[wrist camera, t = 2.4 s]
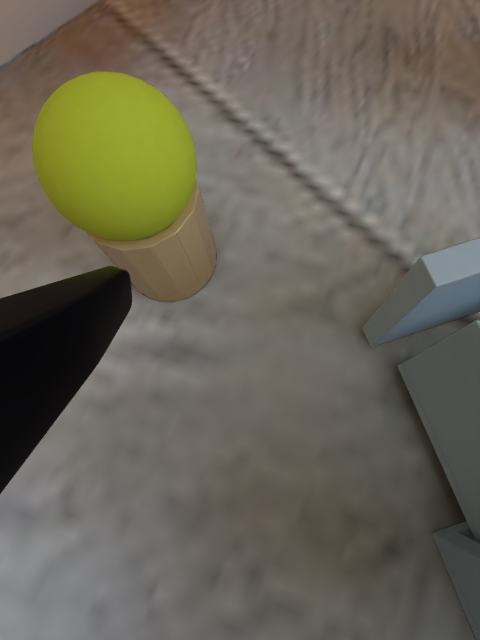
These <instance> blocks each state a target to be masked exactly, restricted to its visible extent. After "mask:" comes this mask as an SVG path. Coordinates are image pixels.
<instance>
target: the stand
mask: <svg viewBox="0 0 480 640" xmlns="http://www.w3.org/2000/svg"><path fill="white" fill-rule="evenodd" d="M88 235H89V236H90V237H91V238H92V239H93V240H94V241H95V242H96V244H97V245H98V246H99V247H100V248H101V249H102V250H103V252H104V253H105V254H106V255H107V256H108V257H109V258H110V259H111V261H112V262H113V263H114V264H115V265H116V266H117V267H118V268H121V269H125V270H127V271H128V272H129V274H130V278H131V283H132V284H133V285H134V286H135V287H136V288H137V289H138V291H139V292H141V293H142V294H143V295H145V296H147V297H149V298H151V299H154V300H158V301H164V302H172V301H178V300H182V299H185V298H188V297H190V296H192V295H194V294H195V293H197V292H198V291H199V290H201V289H202V288H203V287H204V286H205V285H206V284H207V282H208V281H209V279H210V278H211V276H212V274H213V272H214V269H215V266H216V261H217V253H216V246H215V242H214V238H213V235H212V231H211V228H210V224H209V221H208V217H207V214H206V210H205V206H204V203H203V199H202V196H201V192H200V189H199V185H198V182H197V179H195V184H194V188H193V192H192V194H191V197H190V199H189V201H188V203H187V205H186V207H185V208H184V210H183V211H182V213H181V214H180V215H179V216H178V218H177V219H176V220H175V221H174V222H173V223H171V224H170V225H169V226H168V227H166V228H165V229H163V230H162V231H160V232H158V233H156V234H154V235H152V236H149V237H146V238H143V239H139V240H132V241H117V240H108V239H104V238H100V237H98V236H95V235H92V234H90V233H88Z"/></svg>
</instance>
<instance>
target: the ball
mask: <svg viewBox="0 0 480 640" xmlns="http://www.w3.org/2000/svg"><path fill="white" fill-rule="evenodd" d="M32 150H33V160H34V166H35V170H36V173H37V176H38V179H39V182H40V184H41V186H42V188H43V190H44V192H45V194H46V195H47V197H48V198H49V200H50V201H51V203H52V204H53V205H54V207H55V208H56V209H57V210H58V211H59V212H60V213H61V214H62V215H63V216H64V217H65V218H66V219H67V220H68V221H70V222H71V223H72V224H74V225H75V226H77V227H78V228H80V229H82V230H84V231H85V232H87V233H90V234H92V235H95V236H98V237H100V238H104V239H108V240H117V241H132V240H139V239H143V238H146V237H149V236H152V235H154V234H156V233H158V232H160V231H162V230H163V229H165V228H166V227H168V226H169V225H170V224H171V223H173V222H174V221H175V220H176V219H177V218H178V216H179V215H180V214H181V213H182V211H183V210H184V208H185V207H186V205H187V203H188V201H189V199H190V197H191V194H192V192H193V188H194V184H195V179H196V165H197V162H196V153H195V147H194V143H193V139H192V137H191V134H190V131H189V129H188V127H187V125H186V123H185V121H184V119H183V117H182V116H181V114H180V113H179V111H178V110H177V109H176V107H175V106H174V105H173V104H172V103H171V102H170V100H169V99H168V98H167V97H165V96H164V95H163V94H162V93H161V92H160V91H158V90H157V89H156V88H154V87H153V86H151V85H149V84H148V83H146V82H144V81H142V80H140V79H138V78H135V77H132V76H129V75H126V74H122V73H117V72H94V73H88V74H84V75H81V76H78V77H76V78H74V79H72V80H70V81H68V82H66V83H65V84H63V85H62V86H61V87H59V88H58V89H57V90H56V91H55V92H54V93H53V94H52V95H51V96H50V97H49V99H48V100H47V101H46V103H45V104H44V106H43V107H42V109H41V111H40V113H39V116H38V118H37V121H36V124H35V128H34V133H33V145H32Z"/></svg>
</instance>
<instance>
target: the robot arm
mask: <svg viewBox="0 0 480 640" xmlns="http://www.w3.org/2000/svg"><path fill="white" fill-rule="evenodd" d="M131 305H132V292H131V278H130V274H129V272H128V271H127V270H125V269H121V268H118V267H115V266H107V267H104V268H101V269H97V270H94V271H91V272H87V273H84V274H81V275H77V276H74V277H71V278H67V279H64V280H61V281H57V282H54V283H51V284H47V285H44V286H41V287H37V288H34V289H31V290H27V291H24V292H21V293H17V294H14V295H11V296H7V297H4V298H1V299H0V494H1V492H2V491H3V490H4V488H5V487H6V486H7V484H8V483H9V482H10V480H11V479H12V478H13V476H14V475H15V474H16V472H17V471H18V470H19V469H20V467H21V466H22V465H23V463H24V462H25V461H26V459H27V458H28V457H29V455H30V454H31V453H32V451H33V450H34V449H35V447H36V446H37V445H38V443H39V442H40V441H41V439H42V438H43V437H44V435H45V434H46V433H47V431H48V430H49V429H50V427H51V426H52V425H53V423H54V422H55V421H56V419H57V418H58V417H59V415H60V414H61V413H62V411H63V410H64V409H65V407H66V406H67V405H68V403H69V402H70V401H71V399H72V398H73V397H74V395H75V394H76V393H77V391H78V390H79V389H80V387H81V386H82V385H83V383H84V382H85V381H86V379H87V378H88V377H89V375H90V374H91V373H92V371H93V370H94V369H95V367H96V366H97V364H98V363H99V361H100V360H101V358H102V357H103V355H104V353H105V352H106V350H107V348H108V347H109V345H110V343H111V341H112V340H113V338H114V336H115V335H116V333H117V331H118V329H119V328H120V326H121V324H122V323H123V321H124V319H125V318H126V316H127V314H128V312H129V311H130V308H131Z"/></svg>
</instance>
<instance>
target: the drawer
mask: <svg viewBox="0 0 480 640" xmlns="http://www.w3.org/2000/svg"><path fill="white" fill-rule="evenodd" d="M477 312H480V237H479V238H476V239H473V240H470V241H467V242H464V243H461V244H458V245H455V246H451V247H448V248H445V249H442V250H439V251H436V252H433V253H430V254H427V255H424V256H421V257H420V258H419V259H418V261H417V262H416V263H415V264H414V265H413V267H412V268H411V269H410V270H409V272H408V273H407V274H406V275H405V276H404V278H403V279H402V280H401V281H400V283H399V284H398V285H397V286H396V287H395V289H394V290H393V291H392V292H391V293H390V295H389V296H388V297H387V298H386V300H385V301H384V302H383V303H382V304H381V306H380V307H379V308H378V309H377V311H376V312H375V313H374V314H373V315H372V317H371V318H370V319H369V320H368V322H367V323H366V324H365V325H364V326H363V331H364V333H365V335H366V338H367V340H368V342H369V345H370V347H373V346H376V345H379V344H383V343H386V342H389V341H392V340H395V339H398V338H401V337H404V336H407V335H410V334H413V333H416V332H419V331H422V330H425V329H428V328H431V327H434V326H437V325H440V324H444V323H447V322H450V321H453V320H456V319H459V318H462V317H465V316H468V315H471V314H474V313H477ZM398 369H399V371H400V373H401V376H402V378H403V380H404V382H405V384H406V387H407V389H408V391H409V393H410V396H411V398H412V400H413V402H414V405H415V407H416V409H417V411H418V414H419V416H420V418H421V420H422V422H423V425H424V427H425V429H426V431H427V434H428V436H429V438H430V440H431V443H432V445H433V447H434V449H435V451H436V454H437V456H438V458H439V460H440V463H441V465H442V467H443V469H444V472H445V474H446V476H447V478H448V481H449V483H450V485H451V487H452V489H453V492H454V494H455V496H456V498H457V501H458V503H459V505H460V507H461V510H462V512H463V514H464V516H465V518H466V521H467V523H468V525H469V527H470V530H471V532H472V534H473V536H474V539H475V541H476V542H478V543H480V319H478V320H476V321H474V322H472V323H471V324H469V325H467V326H465V327H464V328H462V329H460V330H459V331H457V332H455V333H453V334H452V335H450V336H448V337H446V338H445V339H443V340H441V341H440V342H438V343H436V344H434V345H433V346H431V347H429V348H428V349H426V350H424V351H422V352H421V353H419V354H417V355H416V356H414V357H412V358H410V359H409V360H407V361H405V362H404V363H402V364H400V365H398Z"/></svg>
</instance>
